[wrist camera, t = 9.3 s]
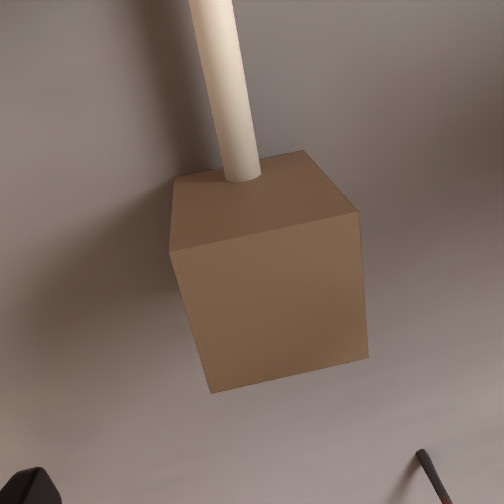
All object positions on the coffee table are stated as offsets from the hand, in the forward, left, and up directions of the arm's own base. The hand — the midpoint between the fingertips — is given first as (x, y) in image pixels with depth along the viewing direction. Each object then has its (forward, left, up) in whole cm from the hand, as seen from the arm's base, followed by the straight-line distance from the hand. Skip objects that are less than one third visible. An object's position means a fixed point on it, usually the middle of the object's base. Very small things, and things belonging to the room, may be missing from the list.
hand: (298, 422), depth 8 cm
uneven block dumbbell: (+7, 0, -8) cm, 11 cm away
